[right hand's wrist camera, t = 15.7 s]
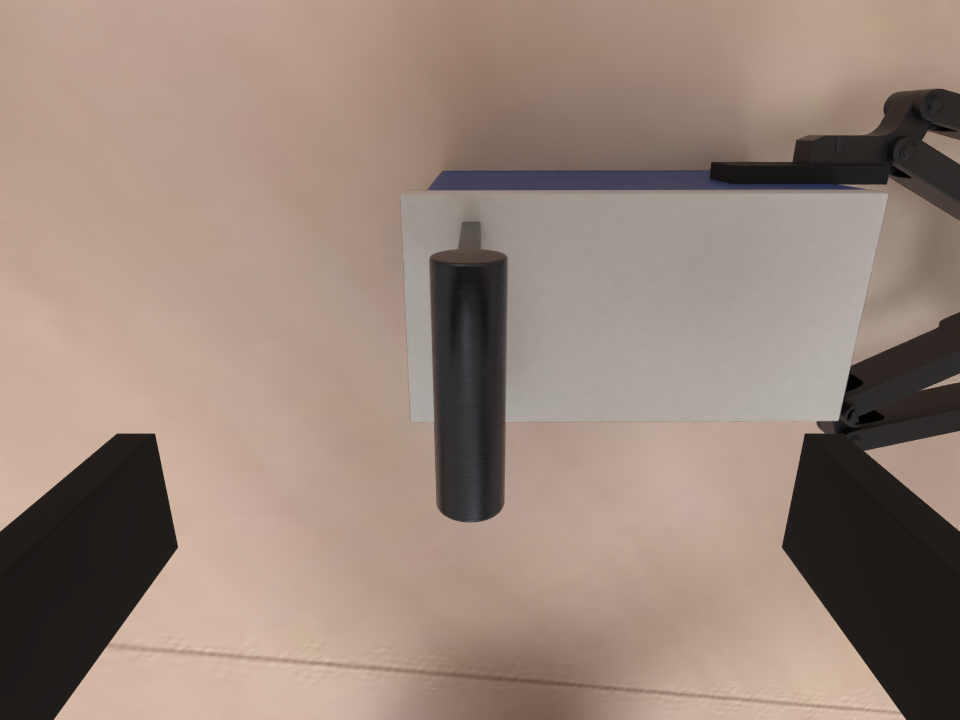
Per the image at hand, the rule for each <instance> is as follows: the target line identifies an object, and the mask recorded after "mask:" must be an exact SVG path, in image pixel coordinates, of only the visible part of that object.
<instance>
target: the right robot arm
mask: <svg viewBox="0 0 960 720" xmlns="http://www.w3.org/2000/svg"><path fill="white" fill-rule="evenodd" d="M177 548H178V545H177V540H176V535H175V530H174V525H173V520H172V515H171V510H170V505H169V500H168V495H167V490H166V485H165V480H164V476H163V471H162V466H161V461H160V456H159V451H158V446H157V441H156V436H155V434H116V435H115V436H114V437H113V438H111V439H110V440H109V441H108V442H107V443H105V444H104V445H103V446H102V447H101V448H99V449H98V450H97V451H96V452H95V453H93V454H92V455H91V456H90V457H89V458H88V459H86V460H85V461H84V462H83V463H82V464H80V465H79V466H78V467H77V468H76V469H74V470H73V471H72V472H71V473H70V474H68V475H67V476H66V477H65V478H64V479H63V480H61V481H60V482H59V483H58V484H57V485H55V486H54V487H53V488H52V489H51V490H49V491H48V492H47V493H46V494H45V495H43V496H42V497H41V498H40V499H39V500H37V501H36V502H35V503H34V504H33V505H32V506H30V507H29V508H28V509H27V510H26V511H24V512H23V513H22V514H21V515H20V516H18V517H17V518H16V519H15V520H14V521H12V522H11V523H10V524H9V525H8V526H7V527H5V528H4V529H3V530H2V531H1V532H0V720H54V719H55V717H56V716H57V714H58V713H59V712H60V710H61V709H62V708H63V706H64V705H65V703H66V702H67V701H68V699H69V698H70V696H71V695H72V694H73V692H74V691H75V689H76V688H77V687H78V685H79V684H80V683H81V681H82V680H83V678H84V677H85V676H86V674H87V673H88V671H89V670H90V669H91V667H92V666H93V665H94V663H95V662H96V660H97V659H98V658H99V656H100V655H101V653H102V652H103V651H104V649H105V648H106V647H107V645H108V644H109V642H110V641H111V640H112V638H113V637H114V635H115V634H116V633H117V631H118V630H119V629H120V627H121V626H122V624H123V623H124V622H125V620H126V619H127V617H128V616H129V615H130V613H131V612H132V610H133V609H134V608H135V606H136V605H137V604H138V602H139V601H140V599H141V598H142V597H143V595H144V594H145V592H146V591H147V590H148V588H149V587H150V586H151V584H152V583H153V581H154V580H155V579H156V577H157V576H158V574H159V573H160V572H161V570H162V569H163V568H164V566H165V565H166V563H167V562H168V561H169V559H170V558H171V556H172V555H173V554H174V552H175V551H176V550H177ZM782 548H783V550H784V551H785V552H786V554H787V555H788V556H789V558H790V559H791V561H792V562H793V563H794V565H795V566H796V568H797V569H798V570H799V572H800V573H801V574H802V576H803V577H804V579H805V580H806V581H807V583H808V584H809V586H810V587H811V588H812V590H813V591H814V592H815V594H816V595H817V597H818V598H819V599H820V601H821V602H822V604H823V605H824V606H825V608H826V609H827V610H828V612H829V613H830V615H831V616H832V617H833V619H834V620H835V622H836V623H837V624H838V626H839V627H840V629H841V630H842V631H843V633H844V634H845V635H846V637H847V638H848V640H849V641H850V642H851V644H852V645H853V647H854V648H855V649H856V651H857V652H858V653H859V655H860V656H861V658H862V659H863V660H864V662H865V663H866V665H867V666H868V667H869V669H870V670H871V671H872V673H873V674H874V676H875V677H876V678H877V680H878V681H879V683H880V684H881V685H882V687H883V688H884V689H885V691H886V692H887V694H888V695H889V696H890V698H891V699H892V701H893V702H894V703H895V705H896V706H897V708H898V709H899V710H900V712H901V713H902V714H903V716H904V717H905V719H906V720H960V532H959V531H958V530H957V529H956V528H955V527H953V526H952V525H951V524H950V523H949V522H948V521H946V520H945V519H944V518H943V517H942V516H940V515H939V514H938V513H937V512H936V511H934V510H933V509H932V508H931V507H930V506H928V505H927V504H926V503H925V502H924V501H923V500H921V499H920V498H919V497H918V496H917V495H915V494H914V493H913V492H912V491H911V490H909V489H908V488H907V487H906V486H905V485H903V484H902V483H901V482H900V481H899V480H897V479H896V478H895V477H894V476H893V475H892V474H890V473H889V472H888V471H887V470H886V469H884V468H883V467H882V466H881V465H880V464H878V463H877V462H876V461H875V460H874V459H872V458H871V457H870V456H869V455H868V454H867V453H865V452H864V451H863V450H862V449H861V448H859V447H858V446H857V445H856V444H855V443H853V442H852V441H851V440H850V439H849V438H847V437H846V436H845V435H844V434H805V436H804V441H803V446H802V451H801V456H800V461H799V466H798V471H797V476H796V480H795V485H794V490H793V495H792V500H791V505H790V510H789V515H788V520H787V525H786V530H785V535H784V540H783V545H782Z"/></svg>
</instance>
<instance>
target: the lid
mask: <svg viewBox="0 0 960 720" xmlns="http://www.w3.org/2000/svg"><path fill="white" fill-rule="evenodd" d="M888 196H889V193H887V192H881V191H875V190H406V191H403V192H402V193H401V194H400V206H401V228H402V250H403V272H404V294H405V316H406V338H407V360H408V382H409V404H410V421H411V422H434V435H435V468H436V501H437V507H438V509H439V510H440V512H441V513H442V514H443V515H445V516H446V517H448V518H450V519H453V520H456V521H460V522H480V521H484V520H487V519H490V518H492V517H494V516H496V515H497V514H498V513H499V512H500V511H501V510H502V508H503V506H504V496H505V427H506V422H661V421H838V420H839V416H840V412H841V407H842V403H843V398H844V394H845V389H846V385H847V380H848V376H849V371H850V367H851V362H852V358H853V353H854V349H855V344H856V340H857V335H858V331H859V326H860V322H861V317H862V313H863V308H864V304H865V299H866V295H867V291H868V286H869V282H870V277H871V273H872V268H873V264H874V259H875V255H876V250H877V246H878V241H879V237H880V232H881V228H882V223H883V219H884V214H885V210H886V205H887V201H888Z"/></svg>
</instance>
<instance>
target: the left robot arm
mask: <svg viewBox="0 0 960 720" xmlns="http://www.w3.org/2000/svg"><path fill="white" fill-rule="evenodd" d="M884 115H885V116H884V118H883V120H882V122H881V123H880V125H879V126H878V127H877V128H876V129H875V130H874V131H873V132H871V133H869V134H867V135H808V136H806V137H803V138H801V139H798V140H796V145H795V151H794V157H793V162H711V170H710V178H709V179H713V180H717V181H721V182H726V183H730V184H887V181H888V177H890V178H891V179H893V180H895V181H896V182H898V183H899V184H901V185H903V186H904V187H906V188H908V189H909V190H911V191H913V192H914V193H916V194H917V195H919V196H921V197H922V198H924V199H926V200H927V201H929V202H930V203H932V204H934V205H935V206H937V207H939V208H940V209H942V210H943V211H945V212H947V213H948V214H950V215H952V216H953V217H955V218H956V219H958V220H960V165H959V164H958V163H956V162H955V161H953V160H952V159H950V158H948V157H947V156H945V155H944V154H942V153H941V152H939V151H937V150H936V149H934V148H933V147H931V146H929V145H928V144H926V143H925V142H923V141H922V139H923V137H924V136H925V134H926V132H927V131H930V132H933V133H937V134H941V135H944V136H948V137H951V138H955V139H959V140H960V94H958V93H954V92H951V91H947V90H944V89H927V90H915V91H903V92H897V93H894V94H892V95H891V96H890V97H889V98H888V99H887V101H886V102H885V105H884ZM959 373H960V312H959V313H957V314H954V315H952V316H950V317H948V318H945V319H943V320H942V321H940V322H939V327H938V328H936V329H934V330H932V331H929V332H927V333H925V334H923V335H920V336H918V337H916V338H914V339H911V340H909V341H907V342H904V343H902V344H900V345H898V346H895V347H893V348H891V349H889V350H886V351H884V352H882V353H880V354H877V355H875V356H873V357H870V358H868V359H866V360H864V361H861V362H859V363H857V364H855V365H852V366H851V367H850V371H849V376H848V380H847V385H846V389H845V394H844V398H843V403H842V407H841V412H840V416H839V420H838V421H817V426H818V427H819V428H820V429H821V430H822V431H823V432H824V433H825V434H844V435H845V436H846V437H847V438H849V439H850V440H851V441H852V442H853V443H855V444H856V445H857V446H858V447H859V448H861V449H862V450H863V451H865V450H870V449H875V448H880V447H884V446H889V445H894V444H899V443H904V442H908V441H913V440H918V439H923V438H928V437H932V436H937V435H942V434H947V433H951V432H956V431H960V383H954V384H949V385H945V386H940V387H935V388H931V389H926V390H922V389H924V388H927V387H929V386H931V385H934V384H936V383H938V382H941V381H943V380H945V379H948V378H950V377H952V376H955V375H957V374H959ZM920 390H921V391H920Z"/></svg>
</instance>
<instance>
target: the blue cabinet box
mask: <svg viewBox="0 0 960 720" xmlns="http://www.w3.org/2000/svg"><path fill="white" fill-rule="evenodd" d="M709 178H710V170H703V171H442V172H441V173H440V175H439V176H438V177H437V179H436V180H435V181H434V183H433V184H432V185H431V186H430V188H429V189H428V190H866V189H862V188H855V187H849V186H843V185H837V184H730V183H726V182H721V181H717V180H713V179H709Z"/></svg>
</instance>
